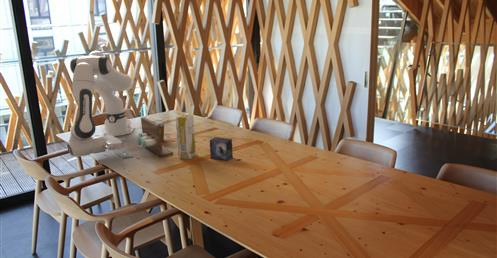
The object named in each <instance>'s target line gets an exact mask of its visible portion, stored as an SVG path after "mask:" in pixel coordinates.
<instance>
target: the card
mask: <svg viewBox="0 0 497 258" xmlns="http://www.w3.org/2000/svg"><path fill="white" fill-rule="evenodd" d="M115 155H116V156H118V157H119V158H121V160H125V159H130V158H134V155H133V154H131V153H130V152H129V151H127V150H122V151H116V152H115Z"/></svg>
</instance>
